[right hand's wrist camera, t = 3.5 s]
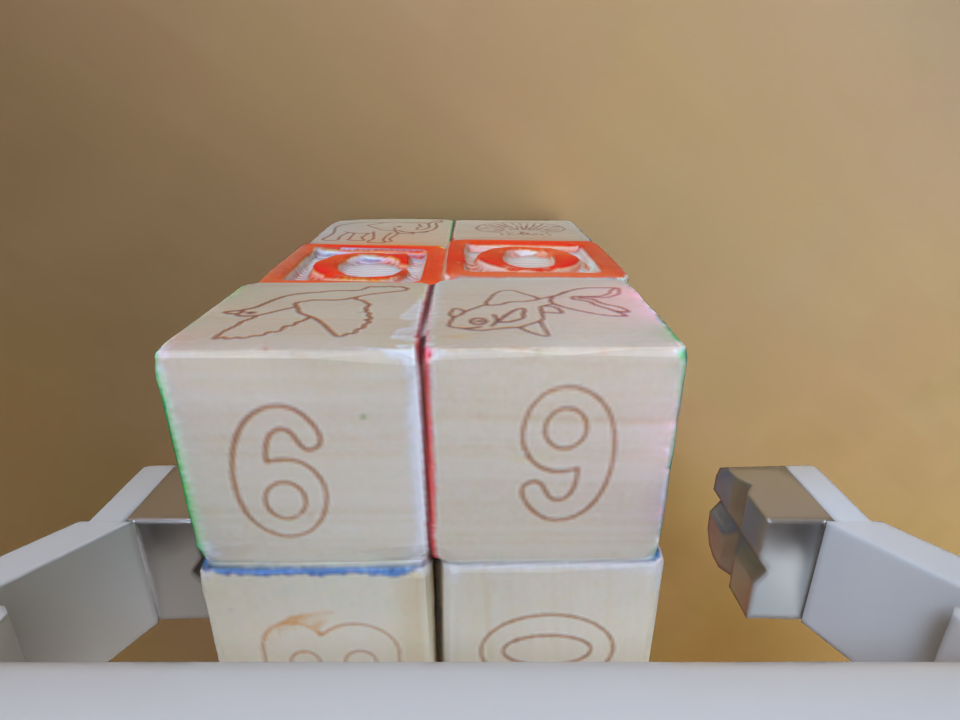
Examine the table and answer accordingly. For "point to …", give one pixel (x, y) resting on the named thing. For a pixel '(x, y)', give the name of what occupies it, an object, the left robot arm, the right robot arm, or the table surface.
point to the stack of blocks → (429, 448)
